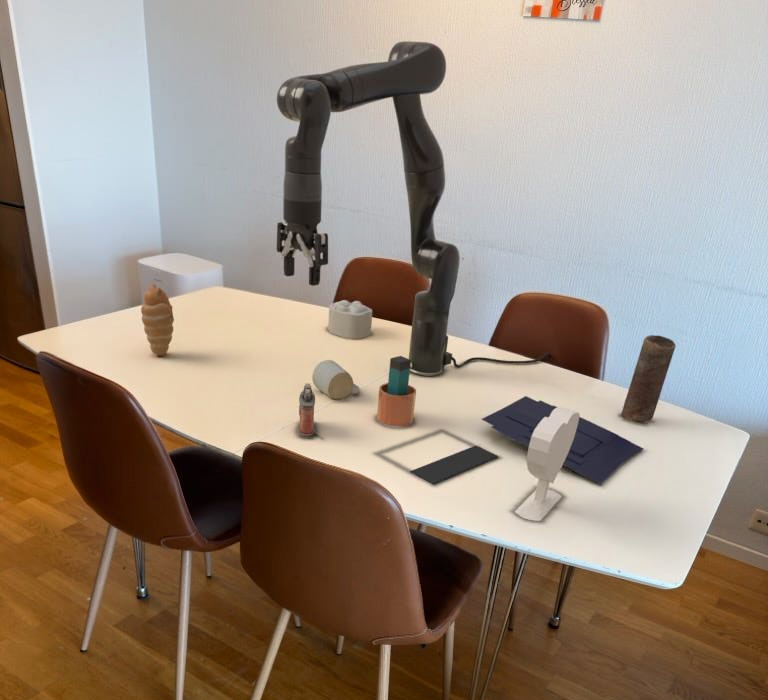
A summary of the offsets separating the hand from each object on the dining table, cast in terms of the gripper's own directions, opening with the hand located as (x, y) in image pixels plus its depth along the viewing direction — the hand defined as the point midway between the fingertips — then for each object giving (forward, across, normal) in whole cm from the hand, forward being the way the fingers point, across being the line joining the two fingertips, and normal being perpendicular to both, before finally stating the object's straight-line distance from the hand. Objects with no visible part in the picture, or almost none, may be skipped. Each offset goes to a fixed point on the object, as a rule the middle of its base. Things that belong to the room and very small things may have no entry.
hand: (301, 280), depth 149 cm
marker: (+28, -18, -14) cm, 36 cm away
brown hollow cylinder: (+29, -50, -65) cm, 87 cm away
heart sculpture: (+29, -60, -10) cm, 68 cm away
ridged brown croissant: (+29, +46, +10) cm, 55 cm away
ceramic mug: (+29, +2, -12) cm, 32 cm away
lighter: (+29, -11, +6) cm, 31 cm away
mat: (+29, -36, -9) cm, 47 cm away
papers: (+29, -47, -36) cm, 66 cm away
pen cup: (+29, -18, -14) cm, 36 cm away
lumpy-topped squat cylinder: (+29, +38, -47) cm, 67 cm away
